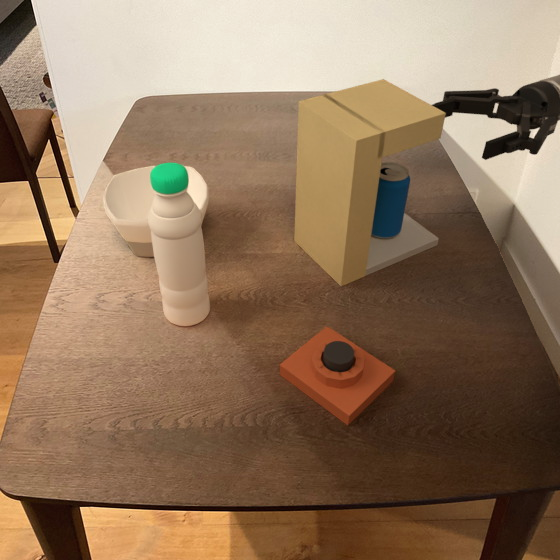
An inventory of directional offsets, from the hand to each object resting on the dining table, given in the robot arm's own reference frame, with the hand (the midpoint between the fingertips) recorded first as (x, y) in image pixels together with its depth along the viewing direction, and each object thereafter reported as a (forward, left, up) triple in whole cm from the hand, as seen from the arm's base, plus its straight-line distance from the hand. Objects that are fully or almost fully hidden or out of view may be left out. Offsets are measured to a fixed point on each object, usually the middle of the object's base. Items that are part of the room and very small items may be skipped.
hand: (452, 132), depth 91 cm
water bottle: (+12, +44, -20) cm, 50 cm away
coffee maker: (+6, +10, -20) cm, 23 cm away
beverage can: (+5, +7, -19) cm, 21 cm away
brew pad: (-12, +36, -20) cm, 43 cm away
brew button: (-12, +36, -17) cm, 41 cm away
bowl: (+31, +36, -20) cm, 52 cm away
